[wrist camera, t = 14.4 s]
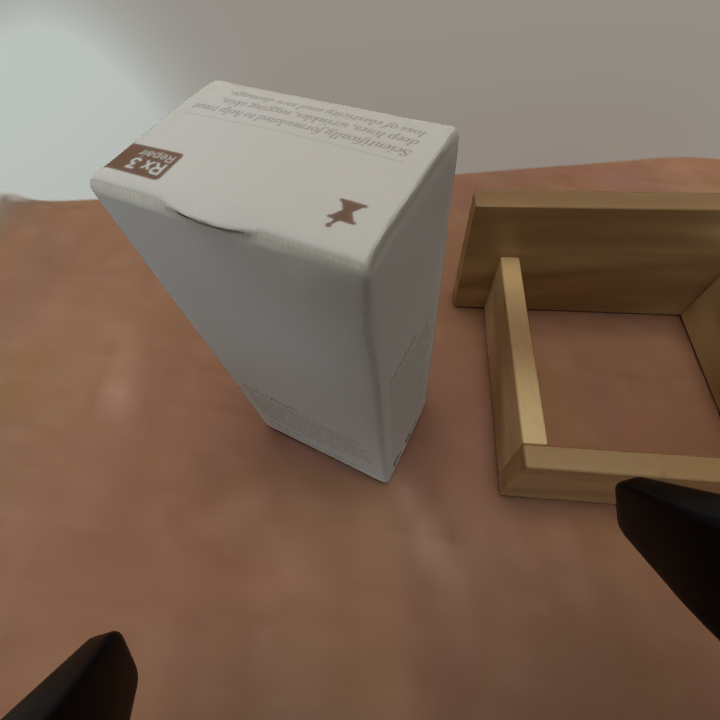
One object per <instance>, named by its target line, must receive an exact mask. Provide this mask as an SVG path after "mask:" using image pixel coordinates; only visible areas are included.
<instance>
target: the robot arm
mask: <svg viewBox="0 0 720 720" xmlns="http://www.w3.org/2000/svg"><path fill="white" fill-rule="evenodd" d="M615 497H616V509H617V520H618V524H619V527H620V529H621V531H622V532H623V534H624V535H625V536H626V538H627V539H628V540H629V541H630V542H631V543H632V545H633V546H634V547H635V548H636V549H637V550H638V551H639V553H640V554H641V555H642V556H643V557H644V558H645V560H646V561H647V562H648V563H649V564H650V565H651V567H652V568H653V569H654V570H655V571H656V572H657V574H658V575H659V576H660V577H661V578H662V579H663V581H664V582H665V583H666V584H667V585H668V586H669V587H670V589H671V590H672V591H673V592H674V593H675V594H676V596H677V597H678V598H679V599H680V600H681V601H682V602H683V603H684V605H685V606H686V607H687V608H688V609H689V610H690V611H691V612H692V613H693V614H694V615H695V616H696V617H697V618H698V619H699V621H700V622H701V623H702V624H703V625H704V626H705V627H706V628H707V629H708V630H709V631H710V632H711V633H712V634H713V635H714V636H715V637H716V638H717V639H718V640H719V641H720V494H717V493H713V492H708V491H704V490H699V489H694V488H690V487H685V486H681V485H676V484H671V483H667V482H662V481H658V480H653V479H648V478H644V477H633V478H630V479H627V480H623V481H620V482H618V483H617V484H616V487H615ZM137 683H138V673H137V668H136V665H135V663H134V660H133V658H132V656H131V654H130V651H129V649H128V647H127V644H126V642H125V640H124V638H123V636H122V634H121V633H120V632H118V631H112V632H108V633H105V634H102V635H98V636H95V637H92V638H91V639H89V640H88V641H86V642H85V643H84V644H83V645H82V646H81V647H80V648H79V649H78V650H77V651H75V652H74V653H73V654H72V655H71V656H70V657H69V658H68V659H67V660H66V661H65V662H63V663H62V664H61V665H60V666H59V667H58V668H57V669H56V670H55V671H54V672H52V673H51V674H50V675H49V676H48V677H47V678H46V679H45V680H44V681H43V682H42V683H40V684H39V685H38V686H37V687H36V688H35V689H34V690H33V691H32V692H31V693H29V694H28V695H27V696H26V697H25V698H24V699H23V700H22V701H21V702H20V703H19V704H17V705H16V706H15V707H14V708H13V709H12V710H11V711H10V712H9V713H8V714H6V715H5V716H4V717H3V718H2V719H1V720H130V717H131V712H132V707H133V703H134V698H135V693H136V689H137Z"/></svg>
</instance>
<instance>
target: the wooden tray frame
mask: <svg viewBox="0 0 720 720" xmlns="http://www.w3.org/2000/svg"><path fill="white" fill-rule="evenodd" d="M453 304H454V306H460V307H484V312H485V324H486V336H487V348H488V360H489V372H490V384H491V396H492V408H493V420H494V432H495V444H496V456H497V468H498V473H499V476H498V479H499V491H500V494H501V495H508V496H520V497H532V498H545V499H557V500H569V501H582V502H594V503H606V504H616V497H615V487H616V484H617V483H618V482H620V481H623V480H627V479H630V478H633V477H644V478H648V479H653V480H658V481H662V482H667V483H671V484H676V485H681V486H685V487H690V488H694V489H699V490H704V491H708V492H713V493H717V494H720V458H713V457H699V456H685V455H670V454H656V453H641V452H627V451H612V450H598V449H583V448H569V447H554V446H547V437H546V430H545V424H544V417H543V411H542V404H541V398H540V391H539V385H538V378H537V372H536V365H535V359H534V352H533V346H532V339H531V333H530V326H529V320H528V313H527V309H539V310H565V311H592V312H618V313H644V314H671V315H681V318H682V320H683V323H684V325H685V328H686V330H687V333H688V335H689V338H690V340H691V343H692V345H693V348H694V350H695V352H696V355H697V357H698V360H699V362H700V365H701V367H702V370H703V372H704V375H705V377H706V380H707V382H708V385H709V387H710V390H711V392H712V395H713V397H714V400H715V402H716V405H717V407H718V410H719V412H720V193H684V192H591V191H498V190H475V191H474V194H473V199H472V203H471V208H470V213H469V218H468V223H467V228H466V232H465V237H464V242H463V247H462V252H461V256H460V261H459V266H458V271H457V276H456V280H455V285H454V290H453Z"/></svg>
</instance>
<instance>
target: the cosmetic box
mask: <svg viewBox="0 0 720 720" xmlns="http://www.w3.org/2000/svg"><path fill="white" fill-rule="evenodd" d="M458 139H459V136H458V130H457V129H456V127H453V126H448V125H443V124H437V123H432V122H426V121H420V120H414V119H409V118H404V117H399V116H394V115H389V114H384V113H380V112H374V111H369V110H365V109H359V108H354V107H349V106H344V105H338V104H333V103H328V102H324V101H319V100H314V99H308V98H304V97H298V96H293V95H287V94H282V93H278V92H272V91H268V90H263V89H257V88H252V87H246V86H241V85H236V84H232V83H228V82H224V81H220V80H217V81H213V82H212V83H210V84H208V85H207V86H205V87H204V88H202V89H201V90H199V91H198V92H197V93H195V94H194V95H192V96H191V97H190V98H189V99H188V100H186V101H185V102H184V103H182V104H181V105H180V106H179V107H177V108H176V109H175V110H174V111H172V112H171V113H170V114H169V115H168V116H166V117H165V118H164V119H163V120H162V121H160V122H159V123H158V124H156V125H155V126H154V127H153V128H151V129H150V130H149V131H148V132H146V133H145V134H144V135H142V136H141V137H140V138H139V139H138V140H137V141H135V142H134V143H133V144H132V145H131V146H129V147H128V148H127V149H126V150H124V151H123V152H122V153H121V154H120V155H118V156H117V157H116V158H115V159H113V160H112V161H111V162H110V163H108V164H107V165H106V166H104V167H103V168H102V169H100V170H99V171H98V172H96V173H95V174H94V175H93V177H92V178H91V179H90V184H91V188H92V190H93V192H94V193H95V195H96V196H97V197H98V199H99V200H100V202H101V203H102V204H103V206H104V207H105V209H106V210H107V211H108V213H109V214H110V215H111V217H112V218H113V219H114V221H115V222H116V223H117V225H118V226H119V227H120V229H121V230H122V231H123V233H124V234H125V235H126V237H127V238H128V240H129V241H130V242H131V244H132V245H133V246H134V248H135V249H136V250H137V252H138V253H139V254H140V256H141V257H142V258H143V260H144V261H145V262H146V264H147V265H148V266H149V268H150V269H151V270H152V272H153V273H154V274H155V276H156V277H157V278H158V280H159V281H160V282H161V284H162V285H163V286H164V288H165V289H166V290H167V292H168V293H169V294H170V296H171V297H172V298H173V300H174V301H175V302H176V304H177V305H178V306H179V308H180V309H181V311H182V312H183V313H184V315H185V316H186V317H187V319H188V320H189V321H190V323H191V324H192V325H193V327H194V328H195V329H196V331H197V332H198V333H199V334H200V336H201V337H202V338H203V340H204V341H205V342H206V344H207V345H208V346H209V348H210V349H211V350H212V352H213V353H214V354H215V356H216V357H217V358H218V360H219V361H220V362H221V364H222V365H223V366H224V368H225V369H226V370H227V372H228V373H229V374H230V376H231V377H232V379H233V380H234V381H235V382H236V384H237V385H238V386H239V388H240V389H241V390H242V392H243V393H244V394H245V396H246V397H247V399H248V400H249V401H250V403H251V404H252V405H253V407H254V408H255V409H256V411H257V412H258V413H259V415H260V416H261V417H262V419H263V420H264V421H265V423H266V424H267V425H268V426H270V427H272V428H274V429H276V430H278V431H280V432H282V433H285V434H287V435H289V436H291V437H293V438H295V439H297V440H299V441H301V442H303V443H305V444H307V445H309V446H311V447H313V448H315V449H317V450H319V451H321V452H323V453H325V454H327V455H329V456H331V457H333V458H335V459H337V460H339V461H341V462H343V463H345V464H347V465H349V466H351V467H353V468H355V469H357V470H359V471H361V472H363V473H365V474H367V475H369V476H371V477H373V478H375V479H377V480H379V481H382V482H384V483H387V482H389V480H390V479H391V476H392V474H393V472H394V470H395V468H396V466H397V464H398V462H399V460H400V458H401V455H402V453H403V451H404V449H405V447H406V445H407V443H408V441H409V439H410V436H411V434H412V432H413V430H414V428H415V426H416V423H417V421H418V419H419V417H420V415H421V413H422V410H423V408H424V406H425V403H426V396H427V385H428V378H429V370H430V363H431V355H432V347H433V340H434V332H435V324H436V316H437V308H438V300H439V293H440V285H441V279H442V270H443V261H444V254H445V248H446V237H447V227H448V215H449V209H450V203H451V197H452V190H453V184H454V176H455V168H456V160H457V151H458Z"/></svg>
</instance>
